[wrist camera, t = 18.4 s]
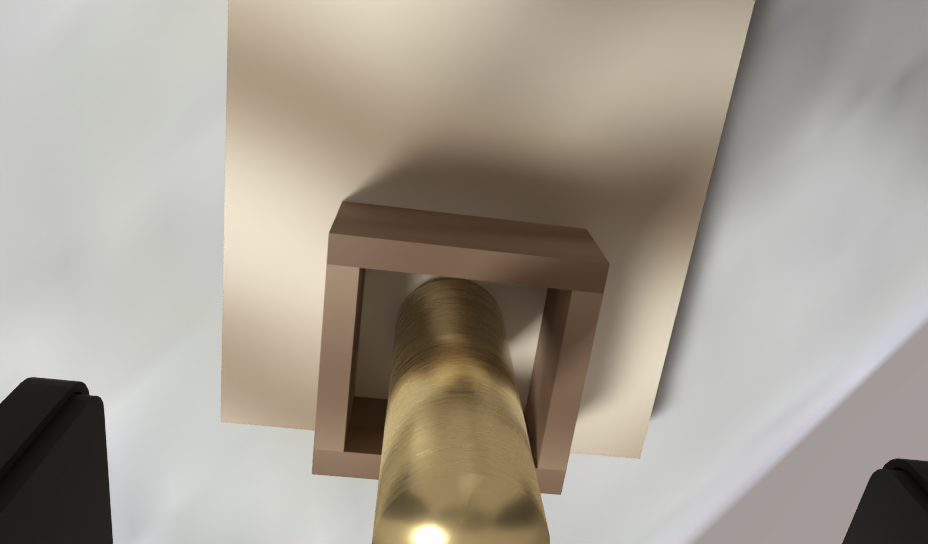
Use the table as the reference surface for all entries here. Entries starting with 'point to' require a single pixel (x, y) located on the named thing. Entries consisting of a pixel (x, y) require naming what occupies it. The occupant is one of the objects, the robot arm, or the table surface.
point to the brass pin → (455, 427)
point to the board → (465, 202)
